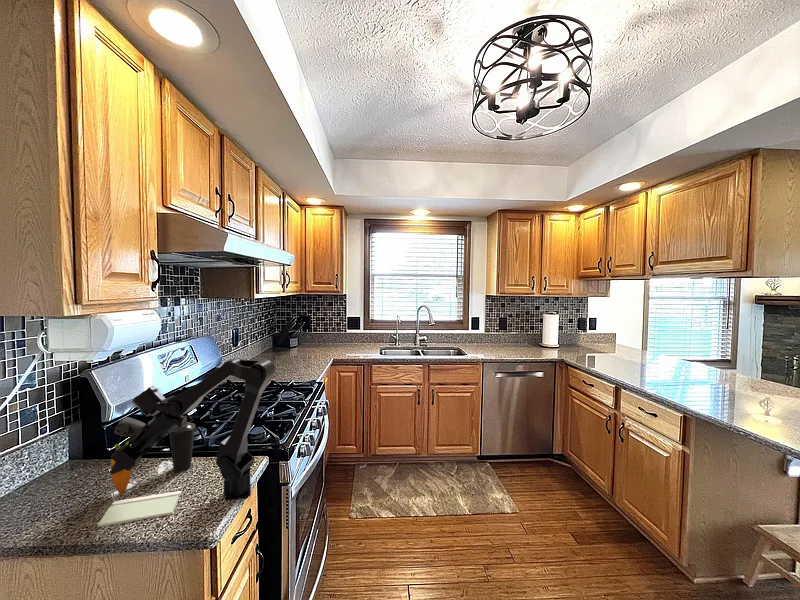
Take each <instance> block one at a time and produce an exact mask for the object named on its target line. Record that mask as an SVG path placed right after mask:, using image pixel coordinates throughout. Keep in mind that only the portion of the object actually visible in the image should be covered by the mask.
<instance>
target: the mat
mask: <svg viewBox="0 0 800 600" xmlns="http://www.w3.org/2000/svg"><path fill="white" fill-rule="evenodd" d="M179 499H180V495H177V496H170V497H164V498H158V499H152V500H146V501H139V502H133V503H127V504H121V505H114V506H112V505H111V506H109V507H108V509H107V510H106V512H105V514H104V515H103V517H102V518H101V520H99V522H98V523H97V528H101V527H102V528H103V527H107V526H112V525H118V524H124V523H130V522H135V521H140V520H146V519H152V518H158V517H163V516H168V515H173V514H174V512H175V509H176V507H177V505H178V502H179Z"/></svg>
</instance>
